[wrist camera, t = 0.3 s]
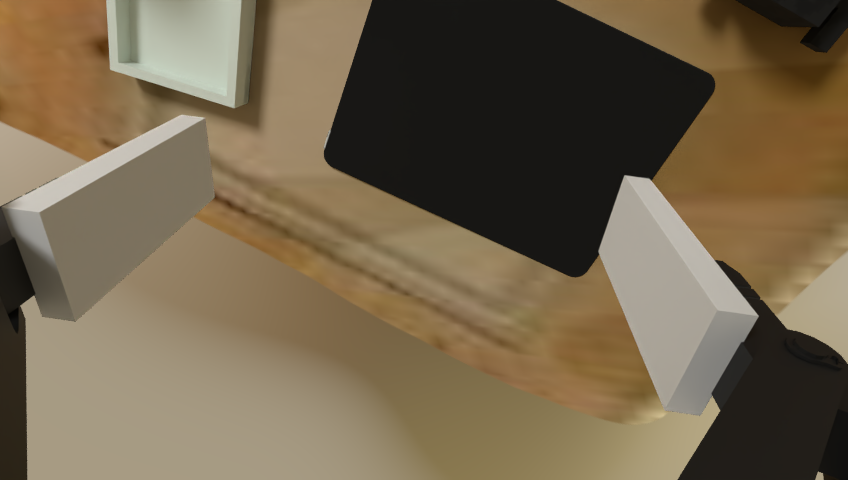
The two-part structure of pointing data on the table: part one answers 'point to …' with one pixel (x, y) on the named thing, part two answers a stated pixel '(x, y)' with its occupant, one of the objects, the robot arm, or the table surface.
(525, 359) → the table surface
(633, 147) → the tablet
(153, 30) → the tray
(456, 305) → the table surface
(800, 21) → the toy
